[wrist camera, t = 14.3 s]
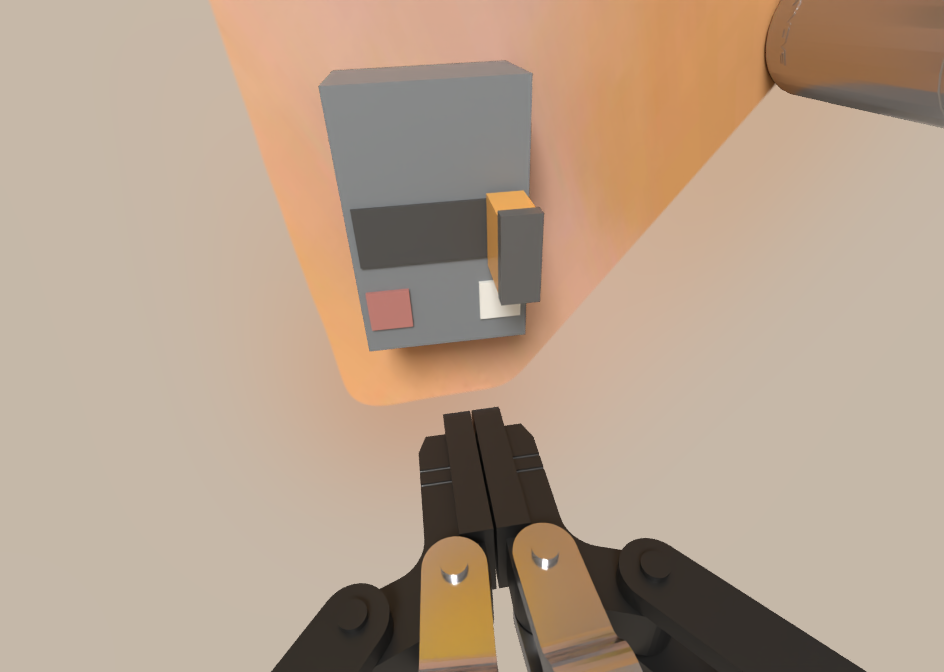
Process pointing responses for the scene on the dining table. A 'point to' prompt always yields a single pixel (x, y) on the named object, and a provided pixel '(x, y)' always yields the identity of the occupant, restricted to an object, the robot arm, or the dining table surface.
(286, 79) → the dining table surface
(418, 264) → the breaker box
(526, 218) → the breaker handle
